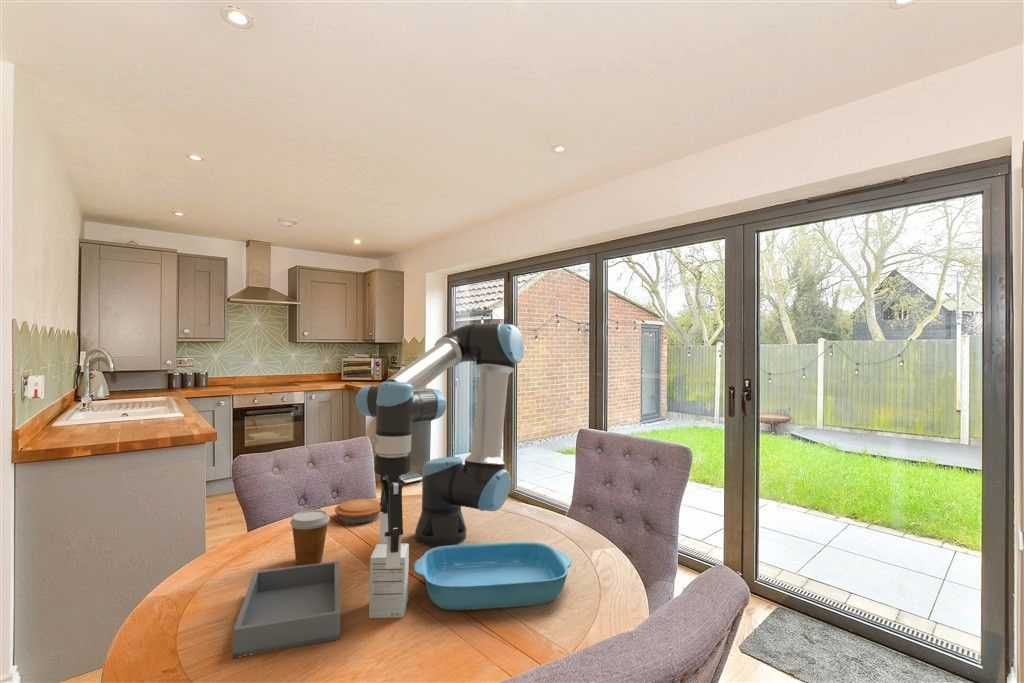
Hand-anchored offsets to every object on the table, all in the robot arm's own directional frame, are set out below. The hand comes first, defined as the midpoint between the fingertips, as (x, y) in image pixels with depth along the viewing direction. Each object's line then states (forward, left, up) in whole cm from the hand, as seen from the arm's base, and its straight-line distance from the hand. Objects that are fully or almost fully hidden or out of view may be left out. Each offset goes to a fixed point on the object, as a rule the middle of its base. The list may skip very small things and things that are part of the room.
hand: (389, 554), depth 102 cm
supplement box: (0, 0, -12) cm, 12 cm away
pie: (+3, -60, -12) cm, 62 cm away
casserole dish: (-24, -1, -12) cm, 27 cm away
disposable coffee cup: (+17, -30, -12) cm, 37 cm away
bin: (+19, -4, -12) cm, 23 cm away
